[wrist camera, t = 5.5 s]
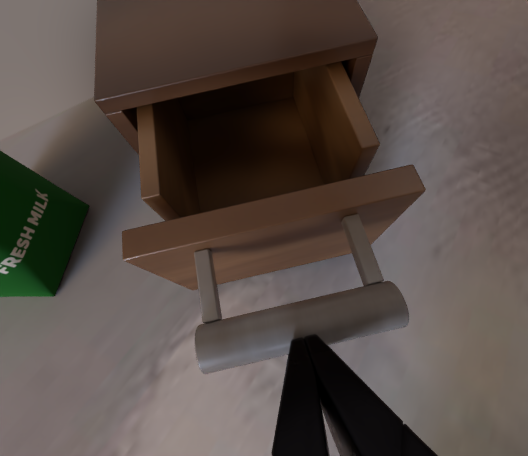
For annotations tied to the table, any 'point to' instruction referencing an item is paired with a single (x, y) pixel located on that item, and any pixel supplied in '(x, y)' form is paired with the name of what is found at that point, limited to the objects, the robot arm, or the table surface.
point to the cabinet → (217, 47)
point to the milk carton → (34, 230)
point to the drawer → (269, 207)
